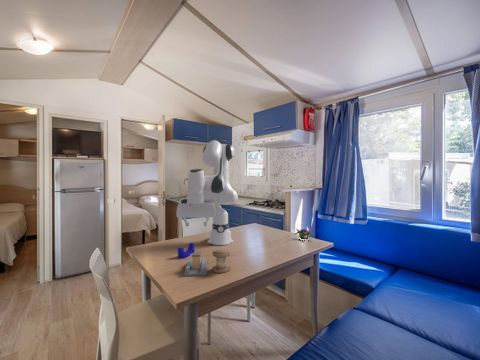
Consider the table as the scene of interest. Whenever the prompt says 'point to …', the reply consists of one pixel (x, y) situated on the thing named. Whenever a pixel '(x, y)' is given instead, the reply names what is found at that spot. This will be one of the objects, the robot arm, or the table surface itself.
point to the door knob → (221, 261)
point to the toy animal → (304, 233)
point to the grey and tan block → (196, 260)
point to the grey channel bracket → (196, 272)
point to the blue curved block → (189, 251)
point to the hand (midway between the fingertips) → (196, 225)
